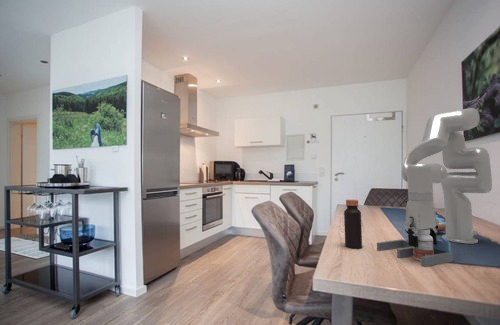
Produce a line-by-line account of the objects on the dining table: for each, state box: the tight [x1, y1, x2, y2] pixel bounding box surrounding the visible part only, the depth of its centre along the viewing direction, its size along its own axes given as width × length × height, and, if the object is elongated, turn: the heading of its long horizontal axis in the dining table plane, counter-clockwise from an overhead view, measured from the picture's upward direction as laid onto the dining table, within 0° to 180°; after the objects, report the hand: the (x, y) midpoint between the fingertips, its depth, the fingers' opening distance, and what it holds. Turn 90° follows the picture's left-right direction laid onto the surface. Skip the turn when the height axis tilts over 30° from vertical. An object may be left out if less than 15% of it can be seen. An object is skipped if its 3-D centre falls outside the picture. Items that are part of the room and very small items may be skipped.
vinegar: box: [343, 199, 363, 250], centre depth 105 cm, size 7×7×20 cm
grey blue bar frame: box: [376, 238, 454, 268], centre depth 93 cm, size 14×20×8 cm
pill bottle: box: [412, 229, 434, 262], centre depth 88 cm, size 6×6×11 cm
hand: (422, 244), depth 88 cm, fingers open, 9 cm apart
